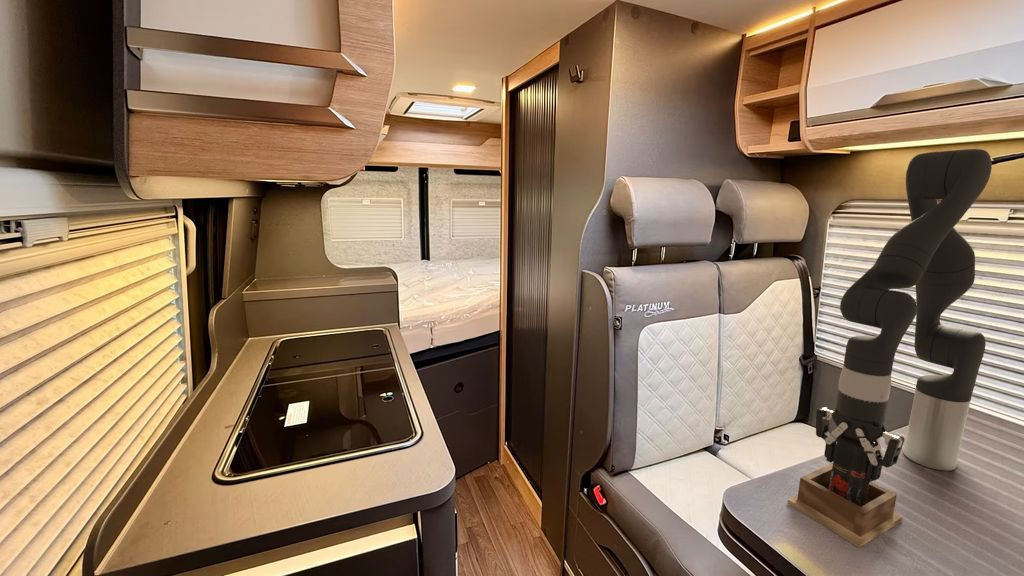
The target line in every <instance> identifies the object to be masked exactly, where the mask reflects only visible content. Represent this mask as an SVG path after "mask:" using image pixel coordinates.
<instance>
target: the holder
mask: <svg viewBox="0 0 1024 576" xmlns="http://www.w3.org/2000/svg"><path fill="white" fill-rule="evenodd" d="M832 467H833V462H830V464H828V465H825V466H822V467H821V468H818V469H816V470H814V471H812V472H810V473H808V474H806V475H803V476H801V477H800V478H799V484H798V492H797V494H796V495H794V496H791V497H790V498H788V499H787V505H789V506H790V507H792V508H794V509H796V510H797V511H799V512H800V513H802V514H804V515H805V516H807V517H809V519H812V520H814V521H815V522H816V523H818V524H820V525H821V526H823V527H825V528H826V529H828V530H829V531H831V532H833V533H835V534H836V535H837V536H839V537H840V538H843V539H844V540H845V541H848V542H849V543H851V544H852V545H854V546H855V547H857V548H858V549H860V548H861V547H863V546H865V545H866V544H868V543H869V542H871V541H872V540H875V539H876V538H877V537H879V536H881V535H883V534H884V533H885V532H887V531H889V530H891V529H892V528H893V527H895V526H896V525H898V524H900V523H901V522H902V521H903V516H902V515H900V514H898V513H896V512H895V508H896V502H897V498H898V497H897V496H898V494H897V493H895V492H893V491H891V490H889V489H887V488H884V487H882V486H880V485H878V484H876V483H874V482H873V481H872V482H870V483H869V488H868V493H867V498H866V503H865V505H863V506H862V507H860V506H858V505H856V504H854V503H853V502H851V501H849V500H847V499H845V498H843V497H842V496H840V495H838V494H836V493H834V492H832V491H830V490H829V483H830V478H831V472H832Z"/></svg>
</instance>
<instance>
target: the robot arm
mask: <svg viewBox="0 0 1024 576" xmlns="http://www.w3.org/2000/svg"><path fill="white" fill-rule="evenodd" d="M992 163H993V161H992V158H991V155H990V153H989V152H988V151H987V150H985V149H981V148H965V149H955V150H954V149H953V150H944V151H943V150H942V151H931V152H923V153H918V154H917V155H915V156H913V157H912V159H910V161H909V163H908V165H907V167H906V172H905V189H906V190H905V191H906V197H907V198H906V199H907V203H908V204H907V205H908V208H909V215H910V222H909V223H907V224H906V225H905V226H903V227H901V228H900V229H899V230H897V231H896V232H895V233H894V234H892V235H891V237H890V238H889V239H887V242H886V243H885V245H884V246H883V248H882V250H881V251H880V252H879V253H880V254H879V255H878V257H877V259H876V261H875V263H874V264H873V265H872V266H871V267H870V268H869V269H868V270H867V271H866V272H865V273H864V274H863V275H862V276H861V277H860V278H858V279H857V280H856V281H855V282H854V283H853V284H852V285H851V286H850V287H849V288H848V289H847V290H846V291H845V292H844V294H843V296H842V297H841V300H840V303H839V310H840V313H841V315H842V317H843V318H844V319H845V320H847V321H848V322H852V323H855V324H860V325H864V326H869V327H874V328H878V329H881V331H880V332H879V333H878V335H876V336H874V335H873V336H872V335H856V336H855V335H854V336H852V337H850V338H849V339H848V340H847V342H846V346H845V354H844V360H843V365H842V369H841V372H840V376H839V380H838V382H837V383H838V388H837V395H836V401H835V406H834V407H835V410H830V408H829V407H827V406H824V407H821V408H818V409H817V410H816V413H815V417H816V418H815V435H816V437H817V438H821V439H822V440H824V442H825V446H824V447H825V448H824V454H823V455H824V457H825V458H826V461H827V462H829V463H833V461H834V456H835V450H836V445H837V439H838V436H840V435H841V434H842V435H843V437H844V438H847V439H850V440H853V441H855V442H856V443H858V444H861V445H862V447H863V448H864V451H865V452H866V453H867V455H868V458H869V460H870V463H869V464H868V469H867V475H866V480H868V481H870V482H872V483H873V482H874V481H877V480H878V479H880V478H881V476H882V475H881V474H882V469H883V467H884V468H886V469H887V468H888V469H889V468H890V467H893V466H895V465H896V464H897V462H898V460H899V457H900V455H901V452H903V454H904V456H905V457H906V458H908V459H909V460H911V462H912V461H913V462H914V463H916V464H919V465H921V466H923V467H926V468H929V469H934V470H939V471H948V472H949V471H954V470H955V469H956V467H957V463H958V459H959V455H960V450H961V446H962V442H963V437H964V432H965V428H966V423H967V419H968V413H969V410H970V406H971V405H970V404H971V402H972V401H971V400H972V396H973V392H974V389H975V385H976V383H977V382H976V381H977V377H978V373H979V371H980V367H981V365H982V361H983V358H984V354H985V351H986V345H987V344H986V338H985V336H984V335H983V334H982V333H981V332H979V331H975V330H970V329H964V328H960V327H954V326H949V325H943V324H942V323H941V321H940V320H941V315H942V314H943V313H944V312H945V311H946V310H947V309H948V308H949V306H951V305H952V304H954V303H955V302H956V301H957V300H959V299H960V298H961V297H962V296H963V295H965V294H966V293H967V292H968V291H969V290H970V289H971V288H972V286H973V285H974V283H975V278H976V255H975V254H976V253H975V251H974V249H973V247H972V245H971V244H970V243H969V241H967V240H966V238H965V237H964V236H963V235H961V234H960V233H959V232H958V230H956V229H955V227H956V225H957V224H958V223H959V221H960V220H961V219H962V218H963V217H964V216H965V214H966V213H967V212H968V210H969V209H971V207H972V206H973V204H974V203H976V201H977V199H978V198H979V197H980V195H982V193H983V192H984V189H985V188H986V187H987V184H988V182H989V180H990V177H991V173H992V169H993V168H992V166H993V165H992ZM939 200H941V201H939ZM912 287H915V295H916V296H915V297H916V298H915V299H916V300H915V299H914V297H913V296H912V295H911V294H909V293H907V292H904V291H900V290H899V289H908V288H912ZM896 289H897V290H896ZM898 290H899V291H898ZM914 319H915V329H914V330H915V331H914V351H915V354H916V356H917V357H918V359H920V360H922V361H924V362H928V363H931V364H934V365H938V366H943V367H946V368H951V369H953V372H952V373H950V374H927V375H922V376H919V377H918V378H917V380H916V384H915V388H914V390H915V391H914V395H913V401H912V406H911V412H910V416H909V422H908V426H907V432H906V436H905V438H904V436H902V435H899V434H897V435H894V434H892V433H890V432H888V431H887V430H886V427H885V421H886V416H887V410H888V407H889V406H888V405H889V402H890V401H889V400H890V395H891V394H890V393H891V388H892V372H893V367H894V366H893V365H894V360H895V356H896V352H897V350H898V347H899V345H900V344H901V342H902V340H903V337H904V336H905V334H906V332H907V331H908V329H909V328H910V327H911V324H912V323H913V322H914ZM831 419H832V420H833V422H834V423H835V426H836V427H835V429H833V430H832V431H831V432H830V420H831ZM880 438H883V439H884V444H885V445H886V446H887V447H886V449H885V452H884V455H883V452H882V445H881V443H880V441H879V439H880ZM870 443H871V445H872V446H871V445H870ZM903 446H904V447H903ZM902 449H903V451H902Z"/></svg>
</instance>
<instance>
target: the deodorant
mask: <svg viewBox="0 0 1024 576" xmlns="http://www.w3.org/2000/svg"><path fill="white" fill-rule="evenodd" d="M870 445H871V443H870ZM871 446H872V445H871ZM832 463H833V467H832V472H831V478H830V483H829V490H830V491H832V492H834V493H836V494H838V495H840V496H842V497H843V498H845V499H847V500H849V501H851V502H853V503H854V504H856V505H858V506H860V507H862V506H863V505H865V503H866V498H867V493H868V488H869V483H870V481H868V480H866V475H867V469H868V464H869V463H870V460H869V458H868V455H867V453H866V452H865V451H864V448H863V447H862V445H861V444H858V443H856V442H855V441H853V440H850V439H847V438H844V437H843V435H842V434H841V435H840V436H838V439H837V445H836V450H835V456H834V461H833V462H832Z"/></svg>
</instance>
